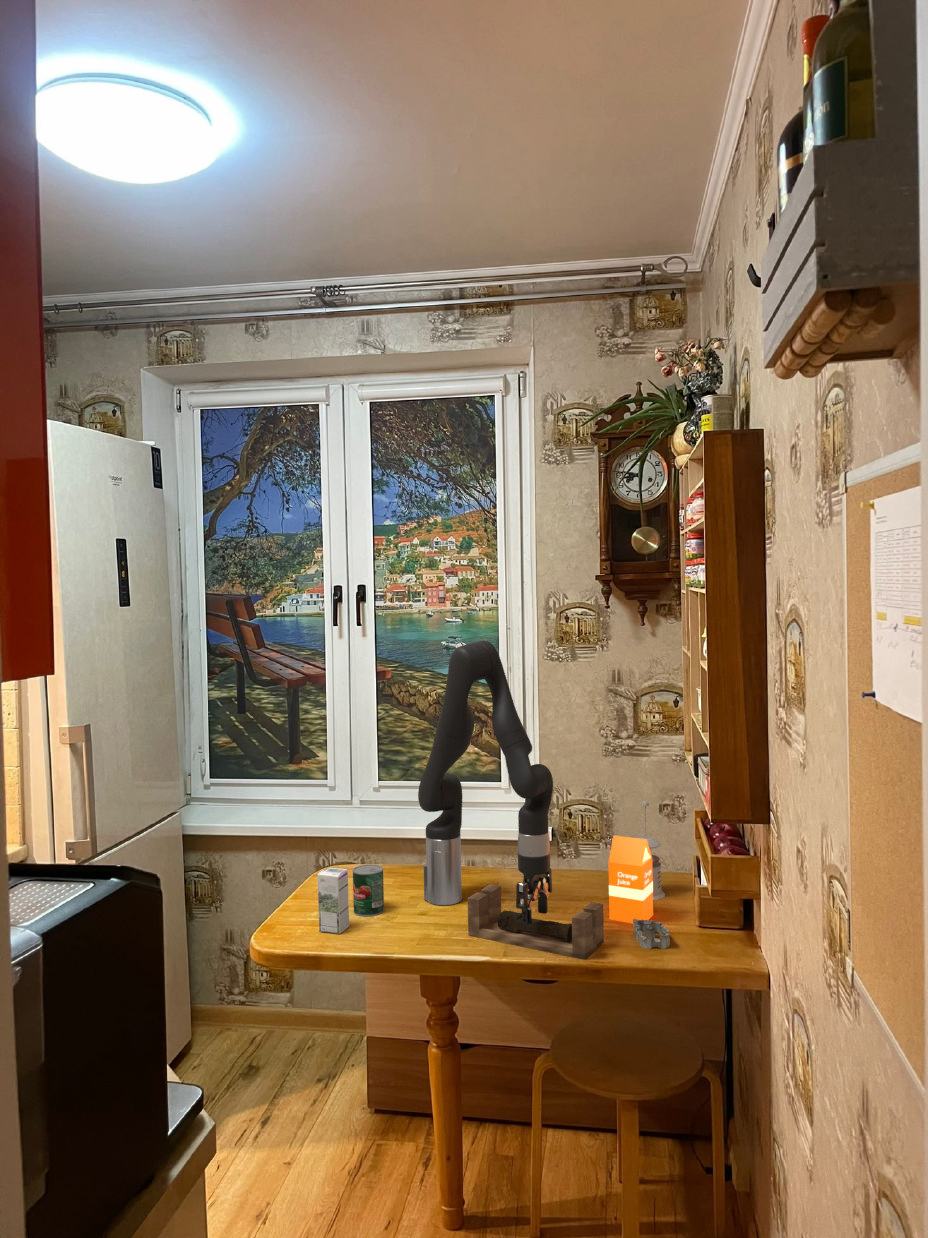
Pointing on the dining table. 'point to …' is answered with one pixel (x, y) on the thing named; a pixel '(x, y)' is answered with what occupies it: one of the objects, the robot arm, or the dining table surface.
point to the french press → (654, 862)
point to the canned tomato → (368, 890)
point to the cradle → (485, 926)
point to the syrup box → (333, 900)
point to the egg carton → (651, 934)
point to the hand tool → (534, 926)
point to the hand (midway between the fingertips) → (535, 919)
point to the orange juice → (630, 880)
